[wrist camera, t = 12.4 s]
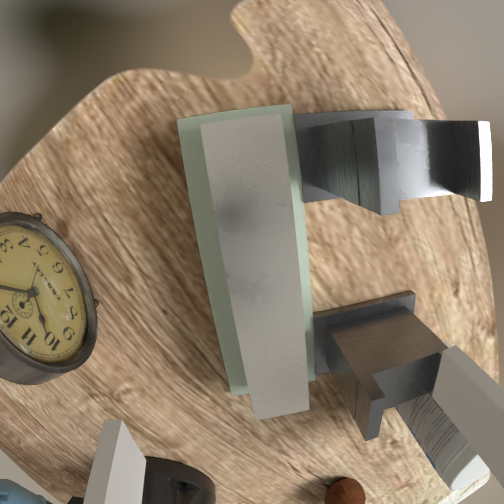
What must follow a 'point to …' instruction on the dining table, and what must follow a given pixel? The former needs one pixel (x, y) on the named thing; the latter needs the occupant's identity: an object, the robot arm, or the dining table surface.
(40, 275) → the alarm clock
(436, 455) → the supplement tub
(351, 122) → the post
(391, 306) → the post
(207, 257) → the mat
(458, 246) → the dining table surface
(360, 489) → the potato
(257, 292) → the rail
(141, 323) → the dining table surface
